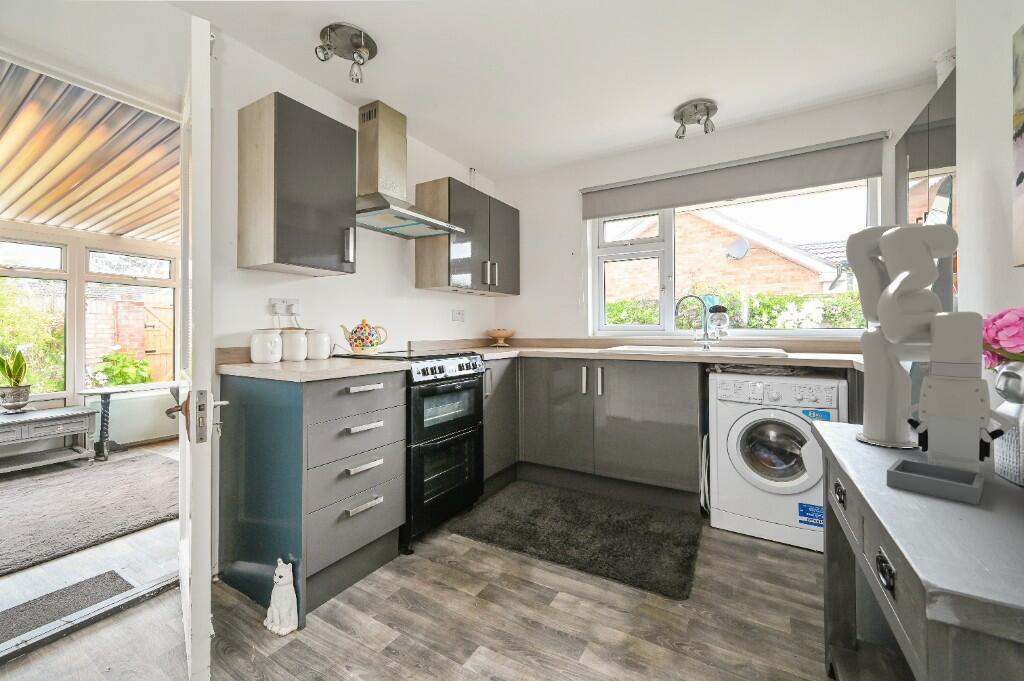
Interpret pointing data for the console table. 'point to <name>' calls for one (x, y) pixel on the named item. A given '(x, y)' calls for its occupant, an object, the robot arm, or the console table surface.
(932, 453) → the supplement box
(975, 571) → the console table surface
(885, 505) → the console table surface
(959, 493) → the holder tray
